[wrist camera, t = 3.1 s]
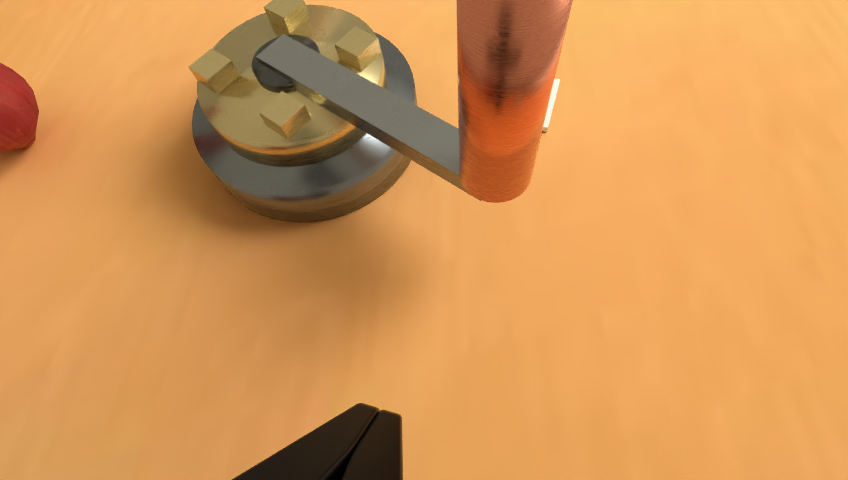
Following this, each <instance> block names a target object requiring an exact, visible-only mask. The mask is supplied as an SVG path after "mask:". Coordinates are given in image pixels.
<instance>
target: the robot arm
mask: <svg viewBox="0 0 848 480" xmlns="http://www.w3.org/2000/svg"><path fill="white" fill-rule="evenodd" d="M232 480H403V454H402V417H401V415H399V414H397V413H393V412H390V411H387V410H381V411H380V410H379V409H378V408H377V407H374V406H370V405H367V404H364V403H359V404H356V405H355V406H353V407H351V408H350V409H348V410H346V411H345V412H343V413H341V414H340V415H338V416H336V417H335V418H333V419H331V420H330V421H328V422H326V423H325V424H323V425H321V426H320V427H318V428H316V429H315V430H313V431H312V432H310V433H308V434H307V435H305V436H303V437H302V438H300V439H298V440H297V441H295V442H293V443H292V444H290V445H288V446H287V447H285V448H283V449H282V450H280V451H278V452H277V453H275V454H273V455H272V456H270V457H268V458H267V459H265V460H264V461H262V462H260V463H259V464H257V465H255V466H254V467H252V468H250V469H249V470H247V471H245V472H244V473H242V474H240V475H239V476H237V477H235V478H234V479H232Z"/></svg>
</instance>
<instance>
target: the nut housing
mask: <svg viewBox="0 0 848 480" xmlns="http://www.w3.org/2000/svg"><path fill="white" fill-rule="evenodd" d="M374 33H375V32H374ZM375 35H376V36H377V37H378V40H379V43H380V46H381V50H382V55H383V60H384V65H385V70H386V76H387V81H388V91H390V92H392V93H393V94H395V95H397V96H399V97H401V98H403V99H404V100H406V101H408V102H410V103H412V104H414V105H415V106H417V99H416V92H415V84H414V79H413V74H412V72H411V69H410V66H409V64H408V62H407V61H406V59H405V57H404V56H403V55H402V53H401V52H400V51H399V50H398V49H397V47H395V46H394V45H393V44H392V43H391V42H390V41H388V40H387V39H385V38H384V37H382V36H381V35H379V34H377V33H375ZM192 129H193V137H194V141H195V145H196V147H197V149H198V151H199V154H200V156H201V157H202V158H203V160H204V161H205V163H206V164H207V165H208V167H209V168H210V169H211V170H212V171H213V172H214V174H215V175H216V176H217V177H218V178H219V179H220V181H221V182H222V183H223V184H224V185H225V186H226V188H227V189H228V190H229V191H230V192H231V194H232V195H233V196H234V197H235V198H236V199H237V200H238V201H239V202H241V203H242V204H243V205H245V206H246V207H248V208H249V209H251V210H253V211H255V212H257V213H259V214H261V215H263V216H266V217H269V218H272V219H277V220H282V221H289V222H316V221H321V220H327V219H332V218H335V217H339V216H342V215H345V214H348V213H350V212H353V211H355V210H358V209H360V208H361V207H363V206H365V205H367V204H369V203H371V202H372V201H374V200H375V199H376V198H378V197H379V196H381V195H382V194H383V193H385V192H386V191H387V190H388V189H389V188H390V187H391V186H392V185H393V184H394V183H395V182H396V181H397V180H398V179H399V178H400V176H401V175H402V174H403V172H404V171H405V169H406V168H407V166H408V165H409V163H410V161H411V159H409V158H408V157H406V156H404V155H403V154H401V153H399V152H398V151H396V150H394V149H392V148H391V147H389V146H387V145H386V144H384V143H382V142H381V141H379V140H377V139H376V138H374V137H372V136H371V135H369V134H366V135H365V136H364V137H363V138H361V139H360V140H359V141H358V142H357V143H355V144H354V145H352V146H351V147H350V148H348V149H346V150H345V151H343V152H341V153H339V154H338V155H335V156H333V157H331V158H328V159H326V160H323V161H320V162H316V163H313V164H308V165H303V166H294V167H275V166H268V165H263V164H259V163H255V162H253V161H250V160H248V159H246V158H244V157H242V156H240V155H239V154H237V153H236V152H235V151H233V150H232V149H231V148H230V147H229V146H228V145H227V144H226V142H225V141H224V140H223V139H222V137H221V136H220V135H219V133H218V132H217V130H216V129H215V128H214V126H213V125H212V124H211V122H210V121H209V120H208V118H207V117H206V116H205V114H204V112H203V110H202V109H201V106H200V103H199V100H198V98H197V100H196V104H195V108H194V111H193V120H192Z"/></svg>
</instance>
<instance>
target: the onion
mask: <svg viewBox="0 0 848 480" xmlns="http://www.w3.org/2000/svg"><path fill="white" fill-rule="evenodd" d="M38 114H39V109H38V106H37V102H36V99H35V95H34V92H33V90H32V88H31V87H30V86H29V84H28V83H27V82H26V80H25V79H24V78H23V77H21V76H20V75H19V74H18V73H16V72H15V71H14V70H12V69H11V68H9V67H7V66H5V65H3V64H1V63H0V153H1V152H5V151H9V150H13V149H23V148H27V147H29V146H30V145H32V144H33V142H34V141H35V133H36V127H37V121H38Z"/></svg>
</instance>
